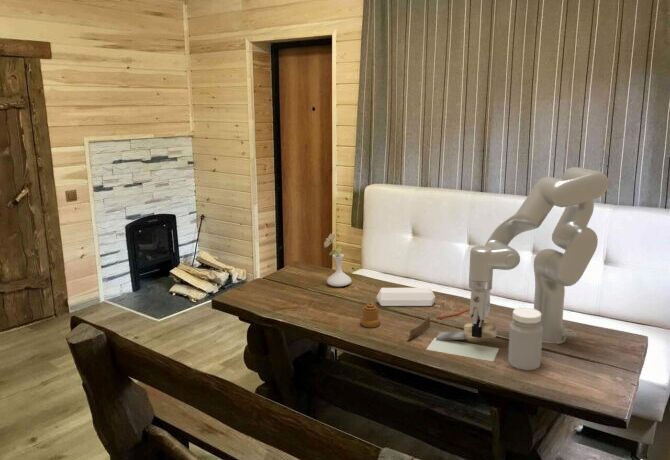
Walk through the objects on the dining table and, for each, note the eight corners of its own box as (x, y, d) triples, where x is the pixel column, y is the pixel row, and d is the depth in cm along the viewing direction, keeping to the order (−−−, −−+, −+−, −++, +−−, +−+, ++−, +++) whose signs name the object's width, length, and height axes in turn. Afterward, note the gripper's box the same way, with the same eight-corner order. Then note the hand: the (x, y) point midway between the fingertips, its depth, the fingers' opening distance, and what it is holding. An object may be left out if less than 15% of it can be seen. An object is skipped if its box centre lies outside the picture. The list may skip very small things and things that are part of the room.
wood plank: (426, 328, 206) (426, 315, 204) (431, 329, 204) (431, 317, 203) (405, 343, 194) (405, 330, 193) (410, 345, 193) (410, 331, 191)
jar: (545, 364, 176) (549, 311, 172) (532, 376, 169) (536, 321, 165) (515, 355, 183) (518, 303, 178) (502, 366, 176) (504, 313, 171)
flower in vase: (340, 278, 263) (339, 227, 257) (356, 284, 254) (355, 231, 248) (318, 285, 255) (316, 232, 249) (334, 291, 246) (333, 236, 240)
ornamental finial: (371, 330, 205) (356, 324, 210) (384, 323, 210) (369, 318, 216) (371, 309, 203) (356, 304, 209) (384, 304, 208) (369, 299, 214)
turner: (497, 332, 188) (495, 321, 187) (494, 338, 184) (492, 327, 183) (440, 334, 197) (438, 323, 197) (436, 339, 193) (434, 329, 193)
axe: (448, 324, 208) (448, 320, 208) (436, 319, 214) (436, 315, 213) (491, 312, 219) (491, 307, 219) (479, 307, 225) (479, 303, 225)
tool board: (499, 351, 186) (499, 348, 186) (493, 364, 177) (493, 361, 177) (434, 340, 195) (434, 337, 195) (426, 352, 187) (426, 349, 187)
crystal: (376, 300, 224) (436, 300, 222) (376, 286, 229) (435, 286, 227) (376, 311, 229) (435, 311, 227) (376, 297, 235) (434, 297, 233)
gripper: (486, 292, 176) (483, 346, 180) (496, 277, 190) (493, 328, 194) (463, 289, 179) (460, 342, 183) (474, 274, 193) (472, 324, 197)
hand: (477, 334), depth 189 cm, fingers closed on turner, 2 cm apart
